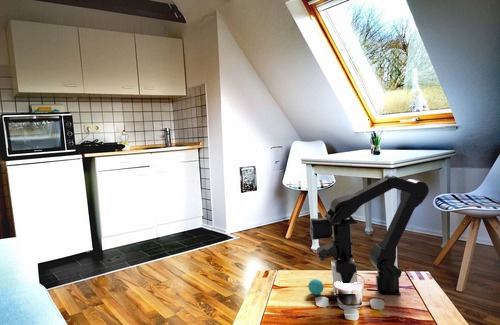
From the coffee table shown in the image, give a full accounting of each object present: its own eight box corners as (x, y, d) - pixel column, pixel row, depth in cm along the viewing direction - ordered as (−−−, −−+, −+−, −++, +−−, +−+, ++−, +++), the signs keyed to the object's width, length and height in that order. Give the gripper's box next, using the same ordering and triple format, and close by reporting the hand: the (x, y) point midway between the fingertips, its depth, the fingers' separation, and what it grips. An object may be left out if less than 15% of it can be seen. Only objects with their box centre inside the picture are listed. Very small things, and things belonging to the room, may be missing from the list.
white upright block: (332, 284, 126) (331, 260, 125) (354, 284, 125) (353, 260, 124) (334, 295, 119) (332, 269, 118) (357, 295, 118) (356, 268, 117)
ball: (323, 290, 126) (322, 276, 125) (324, 297, 121) (323, 282, 120) (308, 290, 126) (307, 276, 126) (308, 297, 122) (308, 283, 121)
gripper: (316, 229, 131) (318, 271, 132) (318, 247, 112) (321, 295, 114) (348, 228, 129) (350, 271, 130) (355, 246, 110) (357, 295, 112)
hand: (344, 282), depth 122 cm, fingers closed on white upright block, 7 cm apart
